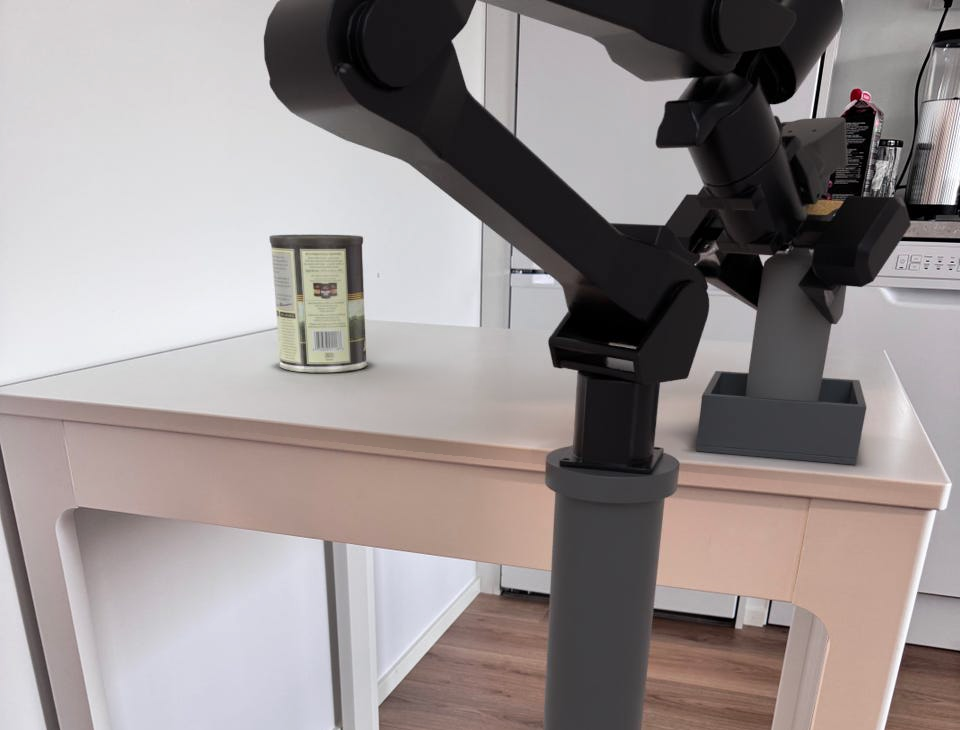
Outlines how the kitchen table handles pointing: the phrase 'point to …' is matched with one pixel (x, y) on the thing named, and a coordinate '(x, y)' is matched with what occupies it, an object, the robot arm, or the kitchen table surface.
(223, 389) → the kitchen table surface
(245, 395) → the kitchen table surface
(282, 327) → the coffee can
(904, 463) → the kitchen table surface
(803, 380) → the bottle
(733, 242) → the robot arm
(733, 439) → the open rectangular box
